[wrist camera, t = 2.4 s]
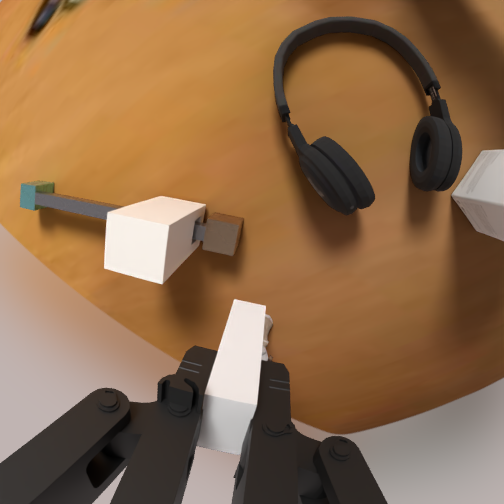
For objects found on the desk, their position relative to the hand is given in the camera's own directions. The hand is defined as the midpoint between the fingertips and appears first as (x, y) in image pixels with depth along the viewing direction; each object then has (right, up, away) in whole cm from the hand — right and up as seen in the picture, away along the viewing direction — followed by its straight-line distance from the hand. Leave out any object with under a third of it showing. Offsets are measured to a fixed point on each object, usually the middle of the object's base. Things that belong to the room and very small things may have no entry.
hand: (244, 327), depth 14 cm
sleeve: (-7, +7, +17) cm, 20 cm away
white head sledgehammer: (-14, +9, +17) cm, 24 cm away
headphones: (+11, +19, +13) cm, 25 cm away
